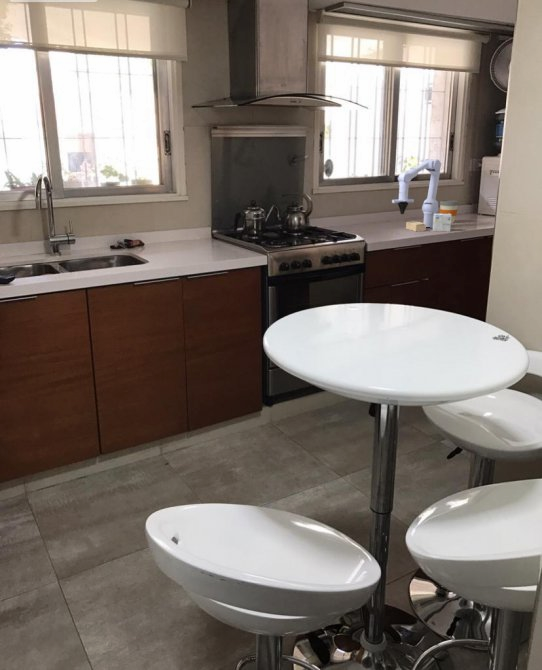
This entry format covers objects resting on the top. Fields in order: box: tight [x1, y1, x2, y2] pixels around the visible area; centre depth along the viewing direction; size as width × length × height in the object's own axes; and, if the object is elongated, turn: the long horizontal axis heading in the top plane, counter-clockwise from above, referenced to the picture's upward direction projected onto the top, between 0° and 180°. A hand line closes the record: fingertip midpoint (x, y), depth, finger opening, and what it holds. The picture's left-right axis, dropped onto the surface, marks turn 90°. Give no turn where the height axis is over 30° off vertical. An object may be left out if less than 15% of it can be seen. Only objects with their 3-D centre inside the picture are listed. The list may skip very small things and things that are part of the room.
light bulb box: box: [432, 213, 452, 232], centre depth 384 cm, size 11×7×11 cm, turn 84°
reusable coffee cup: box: [439, 199, 459, 223], centre depth 422 cm, size 13×13×15 cm
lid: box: [405, 220, 425, 225], centre depth 386 cm, size 13×6×1 cm, turn 17°
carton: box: [405, 223, 427, 232], centre depth 387 cm, size 13×7×4 cm, turn 17°
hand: (402, 214), depth 385 cm, fingers closed
